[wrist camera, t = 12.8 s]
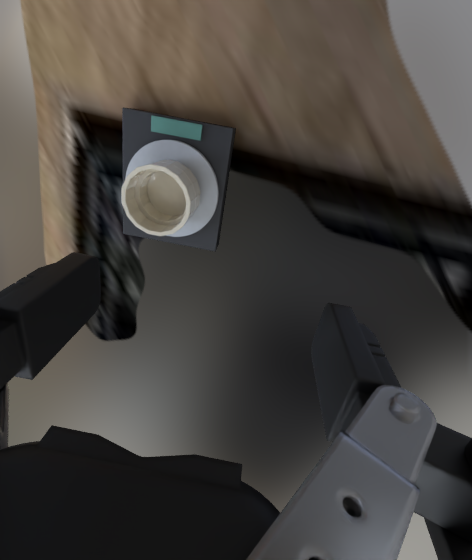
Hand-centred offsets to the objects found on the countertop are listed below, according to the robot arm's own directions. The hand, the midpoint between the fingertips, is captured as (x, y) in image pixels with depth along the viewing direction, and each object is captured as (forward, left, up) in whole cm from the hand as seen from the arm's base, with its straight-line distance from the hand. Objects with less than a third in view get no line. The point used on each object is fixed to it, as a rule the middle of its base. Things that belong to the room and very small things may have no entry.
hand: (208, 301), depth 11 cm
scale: (+2, -8, -26) cm, 27 cm away
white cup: (+2, -8, -23) cm, 25 cm away
